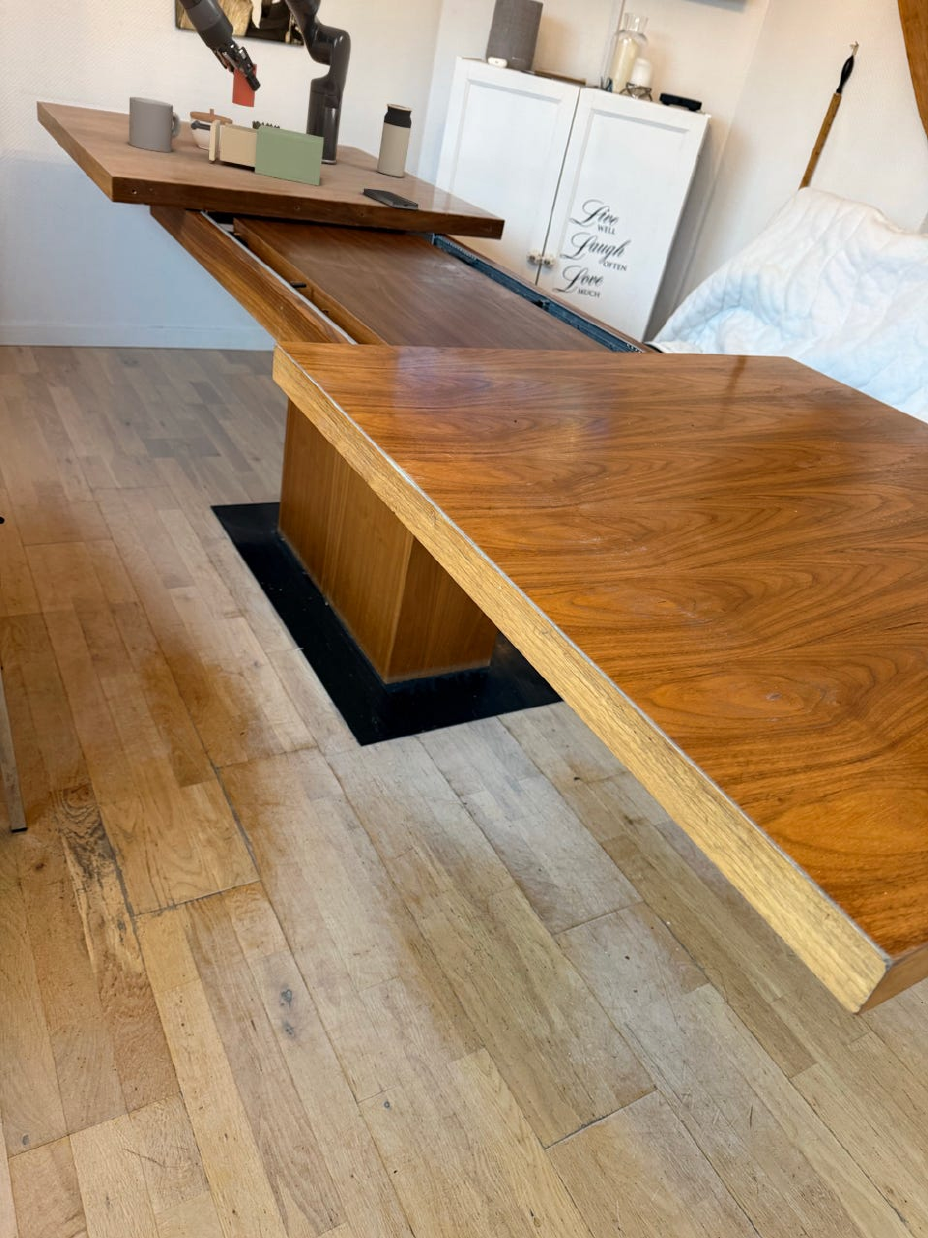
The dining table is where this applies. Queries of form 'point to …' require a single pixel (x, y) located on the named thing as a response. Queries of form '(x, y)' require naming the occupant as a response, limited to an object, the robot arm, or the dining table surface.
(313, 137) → the cabinet
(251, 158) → the drawer
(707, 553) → the dining table surface
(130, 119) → the coffee mug
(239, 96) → the tea tin
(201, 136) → the lidded white pot
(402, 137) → the travel mug
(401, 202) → the phone
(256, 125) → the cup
